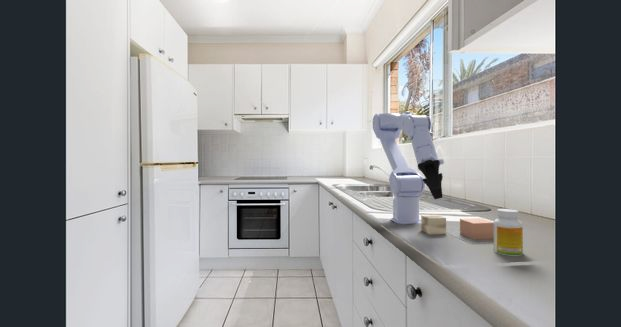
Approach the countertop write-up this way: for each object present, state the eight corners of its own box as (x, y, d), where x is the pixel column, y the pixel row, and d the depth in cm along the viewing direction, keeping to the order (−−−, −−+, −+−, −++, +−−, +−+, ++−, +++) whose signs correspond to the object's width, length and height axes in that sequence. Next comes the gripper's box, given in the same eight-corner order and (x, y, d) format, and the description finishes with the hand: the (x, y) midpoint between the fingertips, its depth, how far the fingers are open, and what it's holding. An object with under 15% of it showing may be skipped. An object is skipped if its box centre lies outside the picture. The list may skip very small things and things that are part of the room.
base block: (460, 233, 86) (459, 218, 86) (481, 233, 86) (481, 218, 86) (473, 239, 80) (473, 223, 80) (495, 238, 80) (495, 222, 80)
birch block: (421, 232, 90) (421, 215, 90) (437, 232, 91) (437, 214, 91) (429, 236, 86) (429, 218, 86) (446, 236, 86) (446, 217, 86)
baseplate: (442, 232, 90) (441, 230, 90) (482, 231, 91) (482, 229, 91) (471, 246, 76) (471, 243, 76) (518, 244, 77) (518, 242, 77)
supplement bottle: (528, 258, 66) (528, 212, 66) (502, 258, 66) (502, 212, 66) (512, 251, 72) (512, 208, 71) (488, 251, 72) (488, 208, 72)
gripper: (436, 134, 85) (451, 179, 78) (440, 157, 97) (454, 199, 90) (409, 141, 87) (422, 186, 81) (417, 163, 99) (428, 204, 92)
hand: (437, 193), depth 85 cm, fingers open, 7 cm apart
